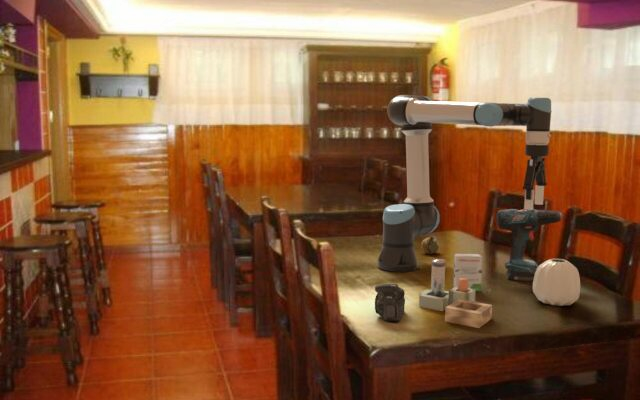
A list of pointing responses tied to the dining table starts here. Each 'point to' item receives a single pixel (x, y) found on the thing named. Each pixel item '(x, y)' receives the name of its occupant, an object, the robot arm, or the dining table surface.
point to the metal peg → (438, 277)
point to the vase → (557, 282)
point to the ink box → (468, 270)
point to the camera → (390, 302)
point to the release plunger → (463, 285)
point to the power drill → (523, 237)
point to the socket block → (444, 298)
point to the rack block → (468, 313)
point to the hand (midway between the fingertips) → (533, 206)
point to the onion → (430, 245)
